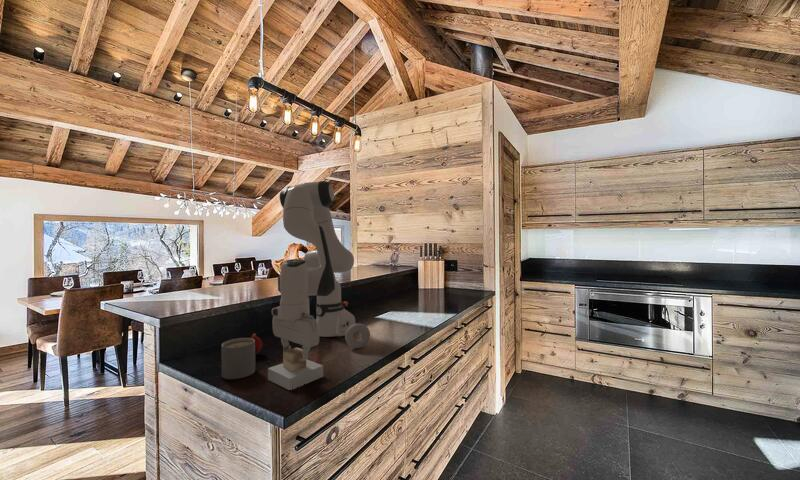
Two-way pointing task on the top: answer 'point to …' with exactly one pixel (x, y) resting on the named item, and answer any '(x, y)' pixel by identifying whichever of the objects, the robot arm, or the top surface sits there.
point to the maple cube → (293, 359)
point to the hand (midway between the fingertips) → (295, 354)
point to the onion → (257, 343)
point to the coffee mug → (238, 358)
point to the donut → (352, 330)
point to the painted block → (295, 375)
